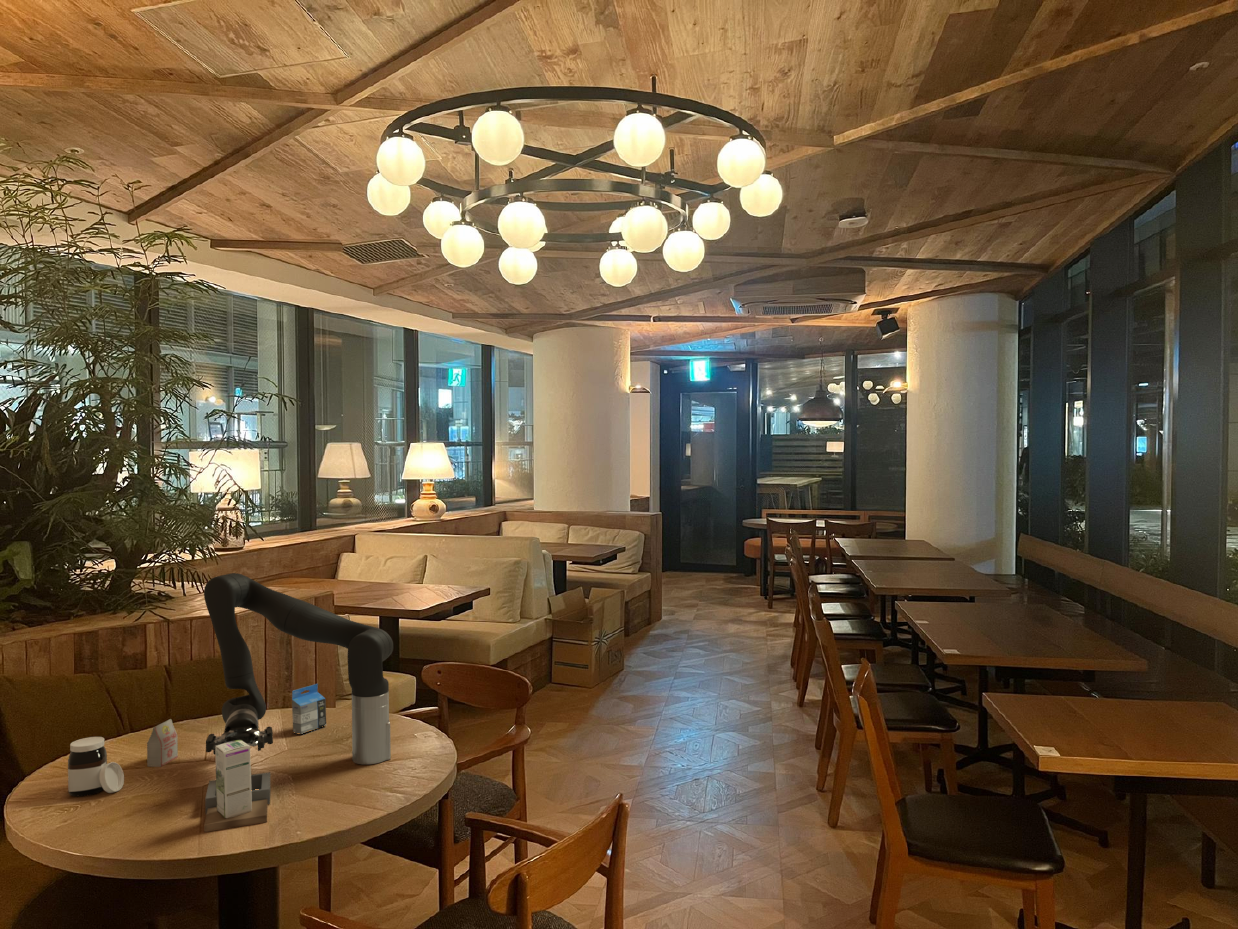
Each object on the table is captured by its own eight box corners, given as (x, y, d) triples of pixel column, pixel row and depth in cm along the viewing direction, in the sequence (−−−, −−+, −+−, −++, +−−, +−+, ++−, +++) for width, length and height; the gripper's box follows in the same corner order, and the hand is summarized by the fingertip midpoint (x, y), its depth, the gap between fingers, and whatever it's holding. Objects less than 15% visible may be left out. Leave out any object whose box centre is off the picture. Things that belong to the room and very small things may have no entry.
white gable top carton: (147, 766, 208) (146, 727, 208) (164, 757, 215) (163, 719, 215) (161, 766, 208) (160, 727, 208) (177, 757, 215) (177, 719, 215)
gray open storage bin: (270, 786, 194) (270, 772, 194) (269, 804, 184) (269, 789, 184) (209, 795, 189) (209, 780, 189) (205, 814, 179) (205, 798, 179)
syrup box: (252, 811, 177) (252, 744, 177) (224, 819, 173) (223, 751, 173) (243, 803, 181) (242, 738, 181) (215, 811, 177) (214, 745, 177)
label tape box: (301, 736, 231) (300, 692, 231) (291, 733, 233) (291, 690, 233) (326, 727, 238) (326, 685, 238) (317, 724, 240) (317, 683, 240)
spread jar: (71, 786, 196) (70, 738, 196) (126, 777, 201) (125, 730, 201) (64, 805, 185) (63, 753, 185) (122, 795, 190) (121, 745, 190)
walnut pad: (267, 805, 183) (267, 799, 183) (266, 822, 175) (266, 815, 175) (207, 815, 179) (207, 808, 179) (204, 832, 171) (204, 825, 171)
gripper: (209, 716, 198) (203, 737, 183) (272, 709, 204) (272, 728, 189) (209, 747, 198) (204, 770, 183) (273, 739, 204) (273, 760, 189)
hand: (239, 749), depth 186 cm, fingers open, 8 cm apart
